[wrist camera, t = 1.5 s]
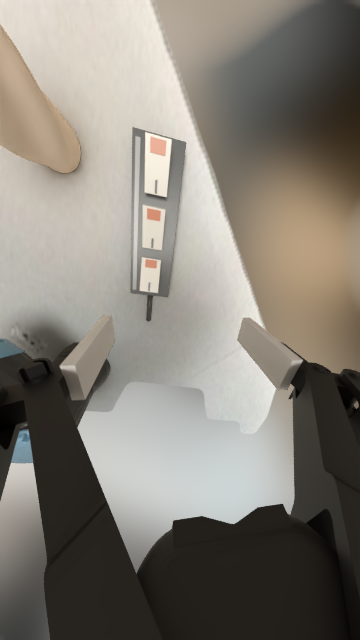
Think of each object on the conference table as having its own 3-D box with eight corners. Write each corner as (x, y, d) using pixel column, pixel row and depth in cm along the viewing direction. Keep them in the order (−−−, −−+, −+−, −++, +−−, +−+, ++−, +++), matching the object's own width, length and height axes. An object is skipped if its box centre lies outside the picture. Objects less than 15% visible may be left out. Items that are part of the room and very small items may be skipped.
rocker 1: (145, 192, 28) (144, 192, 27) (146, 134, 24) (145, 131, 22) (166, 196, 29) (166, 197, 28) (171, 141, 24) (171, 139, 23)
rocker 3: (140, 290, 34) (139, 290, 32) (142, 258, 33) (141, 256, 31) (157, 293, 35) (158, 292, 33) (160, 261, 34) (160, 259, 32)
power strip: (132, 318, 43) (130, 324, 40) (135, 140, 28) (132, 126, 24) (164, 321, 44) (164, 327, 41) (183, 153, 29) (186, 141, 26)
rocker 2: (143, 245, 32) (142, 247, 31) (143, 204, 27) (142, 205, 26) (162, 248, 32) (161, 250, 31) (165, 208, 28) (165, 209, 27)
